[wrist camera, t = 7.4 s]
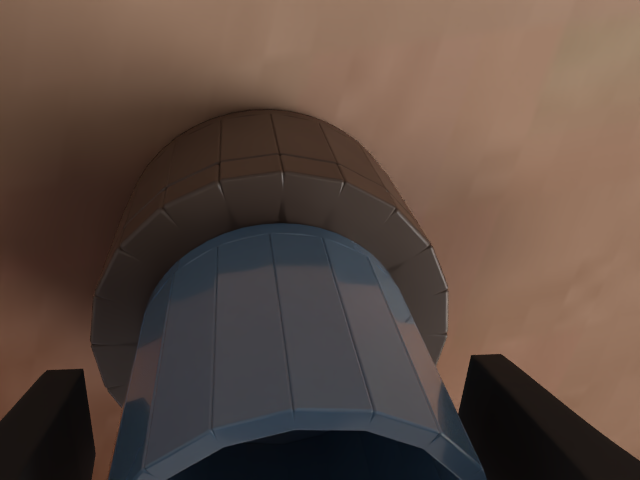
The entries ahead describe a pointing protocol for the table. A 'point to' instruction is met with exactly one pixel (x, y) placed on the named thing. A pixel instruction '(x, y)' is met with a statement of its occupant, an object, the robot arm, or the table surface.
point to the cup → (285, 370)
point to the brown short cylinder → (257, 219)
